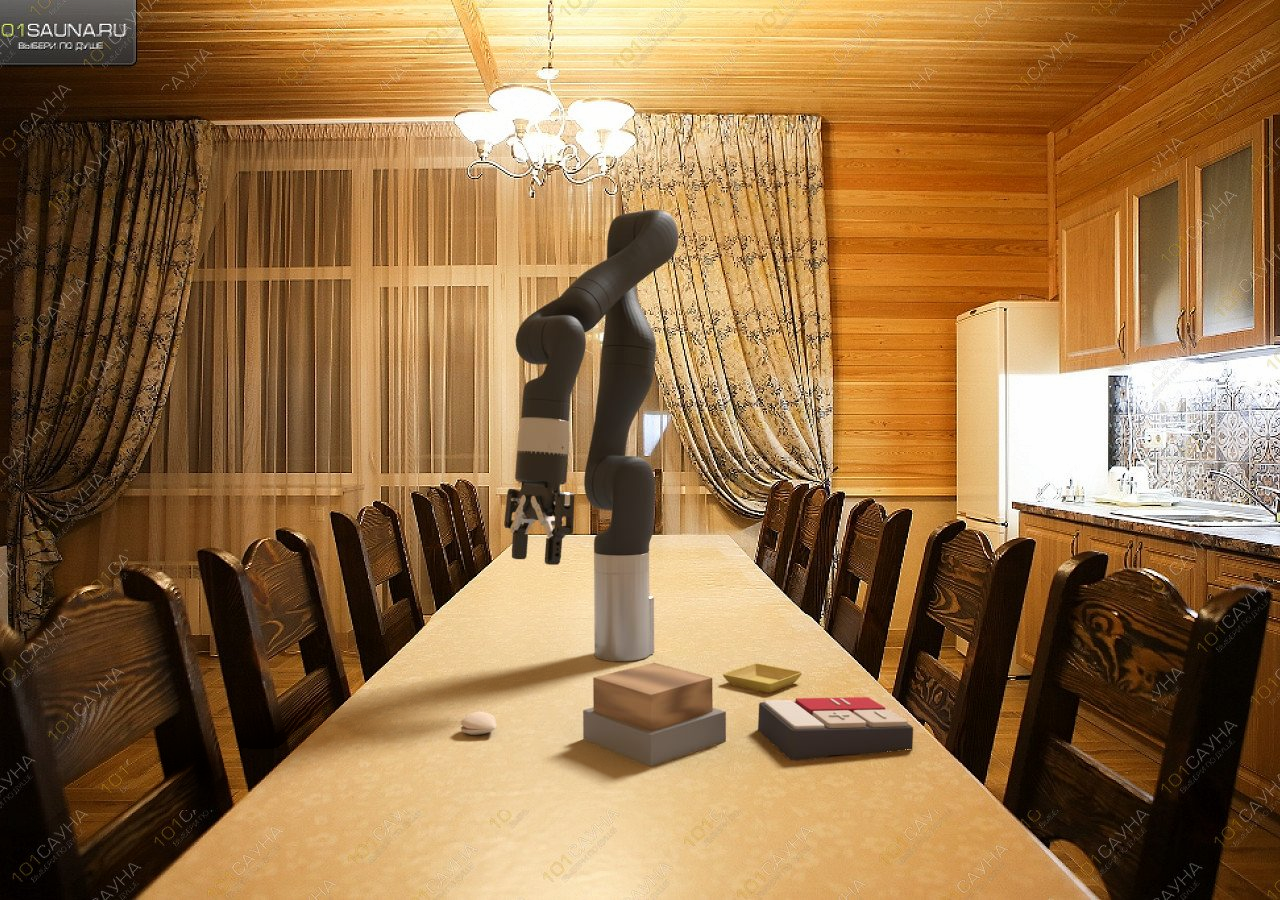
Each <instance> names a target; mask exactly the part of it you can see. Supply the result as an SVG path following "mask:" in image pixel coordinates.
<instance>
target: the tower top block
mask: <svg viewBox="0 0 1280 900" xmlns="http://www.w3.org/2000/svg"><path fill="white" fill-rule="evenodd" d="M592 680H593V685H592V686H593V688H592V689H593V690H592V691H593V695H592V696H593V697H592V698H593V707H594V711H595V712H598V713H601V714H604V715H607V716H610V717H613V718H616V719H618V720H621V721H624V722H627V723H630V724H633V725H636V726H639V727H642V728H645V729H648V730H650V731H652V730H656V729H659V728H662V727H665V726H668V725H671V724H675V723H678V722H681V721H684V720H687V719H690V718H694V717H697V716H700V715H703V714H706V713H709V712H712V711H713V708H714V706H713V700H714V699H713V677H712V676H711V677H710V676H706V675H704V674H700V673H696V672H691V671H688V670H685V669H680V668H677V667H672V666H669V665H665V664H660V663H656V662H652V663H648V664H643V665H638V666H635V667H630V668H626V669H623V670H618V671H615V672H610V673H606V674H603V675H597V676H593V678H592Z"/></svg>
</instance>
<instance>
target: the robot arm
mask: <svg viewBox="0 0 1280 900" xmlns="http://www.w3.org/2000/svg"><path fill="white" fill-rule="evenodd" d="M675 221H676V220H675V219H674V217H673V216H672V215H671V214H670V213H669V212H667V211H666V210H662V209H647V210H641V211H633V212H627V213H624V214H623V213H622V214H619V215H617V216H616V217H615V218H613V220H612V221H611V223H610V226H609V227H608V234H607V239H606V240H607V241H606V242H607V243H606V259H604V260H603V261H601V262H599V263H598V264H596V265H594V266H593V267H591V268H589V269H587V270H586V271H585V272H583V273H582V274H580V276H578V277H577V279H575V280H574V281H573V282H572V283H571V284H570V285H569V286H568V287H567V289H565V291H563V293H562V294H561V295H560V296H559V297H556V299H554V300H552V301H550V302H548V303H546V304H545V305H544V306H542V307H540V308H538V309H537V310H535V311H534V312H533V313H531V314H530V315H529V316H527V318H525V319H524V320H523V322H522V323H521V324H520V325H519V328H518V329H517V332H516V335H515V349H516V352H517V355H519V357H520V358H521V359H522V360H523V361H525V362H526V363H528V364H532V365H538V366H540V365H541V366H542V365H545V368H544V370H543V373H542V374H541V375H540V376H537V377H536V378H533V379H531V380H528V381H526V383H525V384H524V387H523V392H522V402H521V403H522V404H521V416H520V417H521V419H520V423H519V429H518V433H517V447H516V448H517V449H516V460H515V461H516V462H515V472H514V473H515V474H514V478H515V481H516V482H518V483H519V482H520V483H521V486H520V488H508V489H507V494H506V495H507V496H506V503H505V514H504V523H503V525H504V528H505V529H509V530H510V533H512V543H511V544H512V545H511V546H512V547H511V559H514V560H525V559H527V554H528V543H529V542H528V541H529V534H528V532H529V530H530V528H531V526H532V524H535V523H536V522H537V521H538V522H539V524H540V525H541V526H542V527H543V528H544V531H545V534H546V537H547V538H545V549H544V551H545V553H544V564H545V565H549V566H553V565H554V566H556V565H557V566H558V565H560V563H561V559H562V547H563V545H562V544H563V539H564V538H565V537H566V536H568V535H573V533H574V519H575V516H574V515H575V493H574V492H572V491H571V492H569V491H561V486H562V485H565V484H566V483H567V480H568V479H567V478H568V477H567V476H568V463H569V449H570V425H569V423H570V409H571V395H572V392H573V389H574V387H575V384H576V381H577V378H578V375H579V372H580V369H581V365H582V363H583V360H584V356H585V353H586V346H587V344H586V343H587V341H586V340H587V339H586V333H588V332H590V331H591V330H592V329H594V328H595V326H597V325H598V324H599V322H601V320H602V319H603V318H604V328H603V329H604V330H603V337H602V345H601V353H600V363H599V364H600V365H599V382H598V390H597V392H598V393H597V398H596V399H597V400H596V408H595V416H594V422H593V423H594V424H593V427H592V434H591V440H590V444H589V450H588V455H587V461H586V465H585V470H584V471H585V472H584V479H583V481H584V485H583V486H584V494H585V495H586V498H587V500H588V502H589V504H590V505H592V506H593V508H595V509H597V510H601V511H602V510H603V511H611V518H610V519H611V520H610V524H609V526H608V527H607V528H606V529H604V531H601V532H599V533H598V534H596V535H595V536H594V540H593V573H594V574H593V585H594V586H593V587H594V588H593V591H594V592H593V595H594V597H593V600H594V604H593V605H594V624H593V625H594V628H593V629H594V633H593V634H594V638H593V640H594V641H593V643H594V657H596V658H598V659H600V660H604V661H608V662H609V661H611V662H630V661H633V662H634V661H638V660H643V659H646V658H648V657H649V656H650V655H652V654H655V598H654V597H653V595H650V543H651V540H652V537H653V533H654V530H655V529H654V527H655V510H656V509H655V507H656V482H655V481H656V479H655V476H654V471H653V469H652V467H651V464H650V463H649V462H648V460H646V459H645V458H642V457H640V456H634V455H626V454H627V451H626V450H627V443H628V438H629V437H628V436H629V432H630V428H631V426H632V423H633V421H634V419H635V417H636V415H637V413H638V412H639V410H640V408H641V407H642V405H643V403H644V401H645V399H646V397H647V396H648V393H649V392H650V389H651V387H652V384H653V380H654V375H655V364H656V356H657V354H656V353H657V341H656V337H655V334H654V332H653V329H652V328H651V325H650V323H649V321H648V319H647V317H646V315H645V313H644V310H643V309H642V306H641V305H640V300H639V297H638V288H637V287H638V285H637V284H640V283H641V281H643V280H645V278H647V277H649V275H651V274H653V273H654V272H655V271H656V270H657V269H660V267H662V266H664V265H665V264H666V263H668V262H669V261H670V260H671V259H672V258H673V256H674V255H675V253H676V251H677V249H678V244H679V232H678V227H677V224H676V222H675ZM604 316H605V317H604ZM512 517H514V520H513V519H512ZM564 517H565V525H563V521H564ZM553 527H554V528H553Z"/></svg>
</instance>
